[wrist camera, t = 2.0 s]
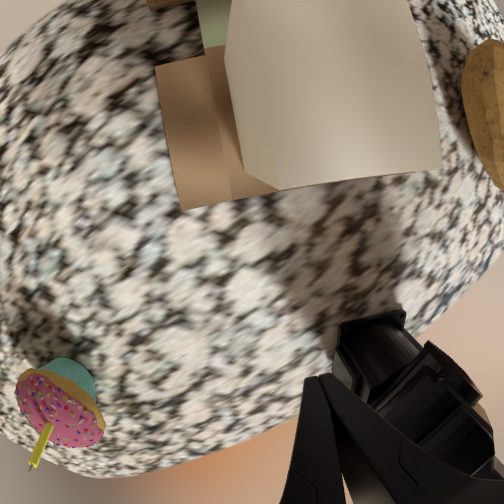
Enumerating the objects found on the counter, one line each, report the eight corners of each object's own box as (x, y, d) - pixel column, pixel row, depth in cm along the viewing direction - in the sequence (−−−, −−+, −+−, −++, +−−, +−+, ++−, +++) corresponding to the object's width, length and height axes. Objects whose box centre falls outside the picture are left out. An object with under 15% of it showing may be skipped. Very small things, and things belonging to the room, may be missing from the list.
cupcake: (37, 324, 18) (-31, 423, 7) (123, 367, 21) (90, 491, 9) (36, 383, 20) (-5, 469, 9) (108, 418, 23) (86, 515, 11)
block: (340, 157, 16) (442, 168, 8) (244, 171, 16) (279, 190, 8) (320, 52, 14) (402, -9, 6) (223, 59, 14) (236, -26, 5)
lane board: (407, 171, 18) (433, 175, 15) (183, 208, 17) (177, 218, 14) (367, -10, 13) (385, -25, 10) (149, -2, 12) (140, -23, 9)
